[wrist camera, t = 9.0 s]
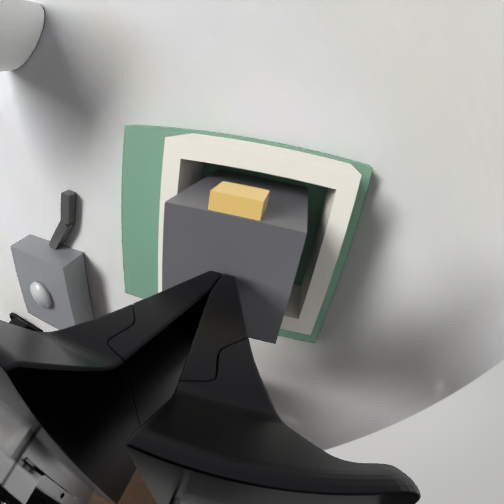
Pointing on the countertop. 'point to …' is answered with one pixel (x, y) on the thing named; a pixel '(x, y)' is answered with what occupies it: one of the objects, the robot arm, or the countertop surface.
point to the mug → (18, 31)
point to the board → (250, 163)
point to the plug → (239, 241)
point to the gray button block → (54, 274)
